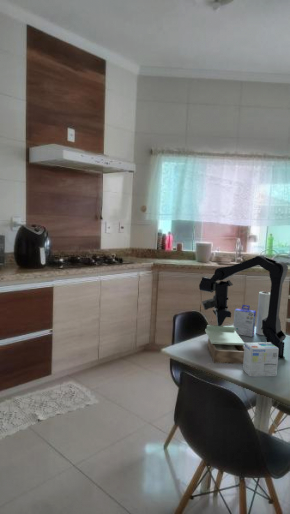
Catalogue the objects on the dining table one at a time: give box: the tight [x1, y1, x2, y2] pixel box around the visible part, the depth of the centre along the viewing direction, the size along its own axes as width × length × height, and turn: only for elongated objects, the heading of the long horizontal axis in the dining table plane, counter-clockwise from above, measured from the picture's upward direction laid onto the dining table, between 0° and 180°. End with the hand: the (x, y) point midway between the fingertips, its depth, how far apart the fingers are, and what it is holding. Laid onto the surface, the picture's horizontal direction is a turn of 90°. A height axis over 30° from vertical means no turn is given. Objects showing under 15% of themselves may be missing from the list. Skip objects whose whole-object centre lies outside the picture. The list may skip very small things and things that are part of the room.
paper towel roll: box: [255, 291, 270, 337], centre depth 172 cm, size 7×6×21 cm
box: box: [207, 337, 245, 365], centre depth 142 cm, size 13×16×5 cm
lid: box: [204, 324, 246, 346], centre depth 149 cm, size 14×17×3 cm
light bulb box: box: [242, 341, 279, 378], centre depth 127 cm, size 11×7×11 cm, turn 98°
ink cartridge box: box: [232, 304, 257, 338], centre depth 172 cm, size 10×6×14 cm, turn 64°
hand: (219, 326), depth 160 cm, fingers closed
